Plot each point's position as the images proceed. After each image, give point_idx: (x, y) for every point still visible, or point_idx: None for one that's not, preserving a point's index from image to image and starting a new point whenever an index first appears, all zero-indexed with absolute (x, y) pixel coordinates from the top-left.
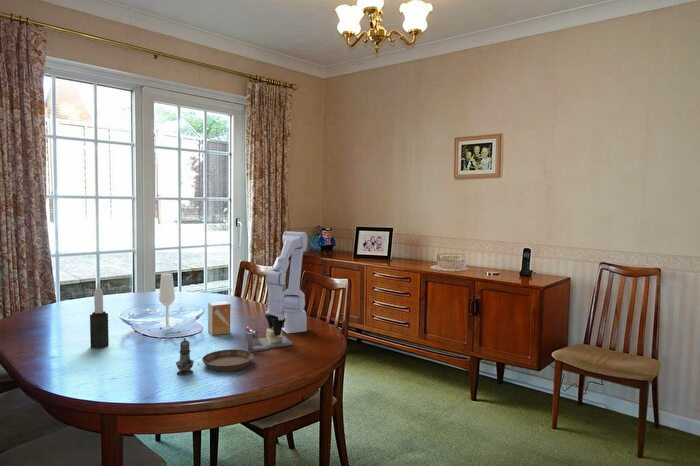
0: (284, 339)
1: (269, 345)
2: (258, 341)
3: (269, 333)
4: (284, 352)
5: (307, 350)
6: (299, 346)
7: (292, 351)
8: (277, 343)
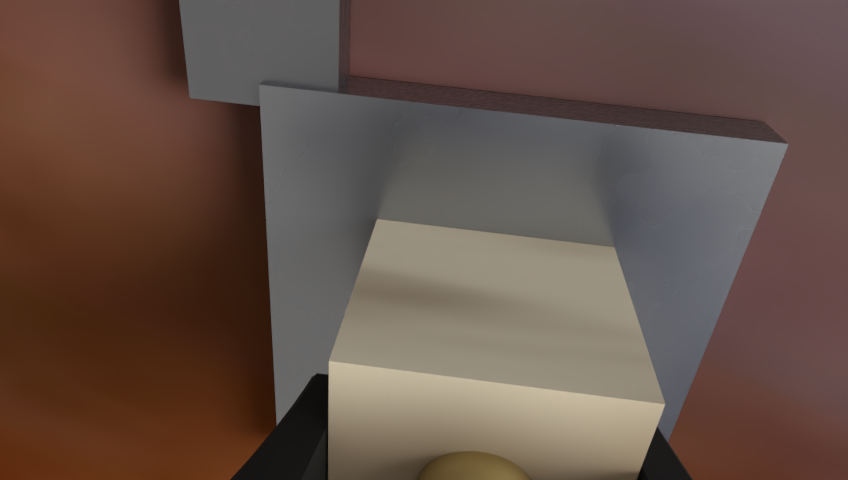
0: None
1: (262, 150)
2: (747, 121)
3: (416, 331)
4: (5, 232)
5: (32, 462)
6: (203, 466)
7: (28, 330)
8: (298, 298)
